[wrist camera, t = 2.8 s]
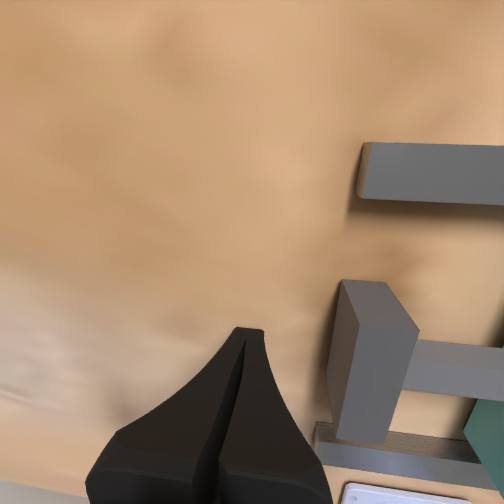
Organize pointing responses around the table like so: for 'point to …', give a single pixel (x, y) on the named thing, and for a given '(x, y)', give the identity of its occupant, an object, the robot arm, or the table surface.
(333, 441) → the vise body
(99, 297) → the table surface
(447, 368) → the sliding jaw
